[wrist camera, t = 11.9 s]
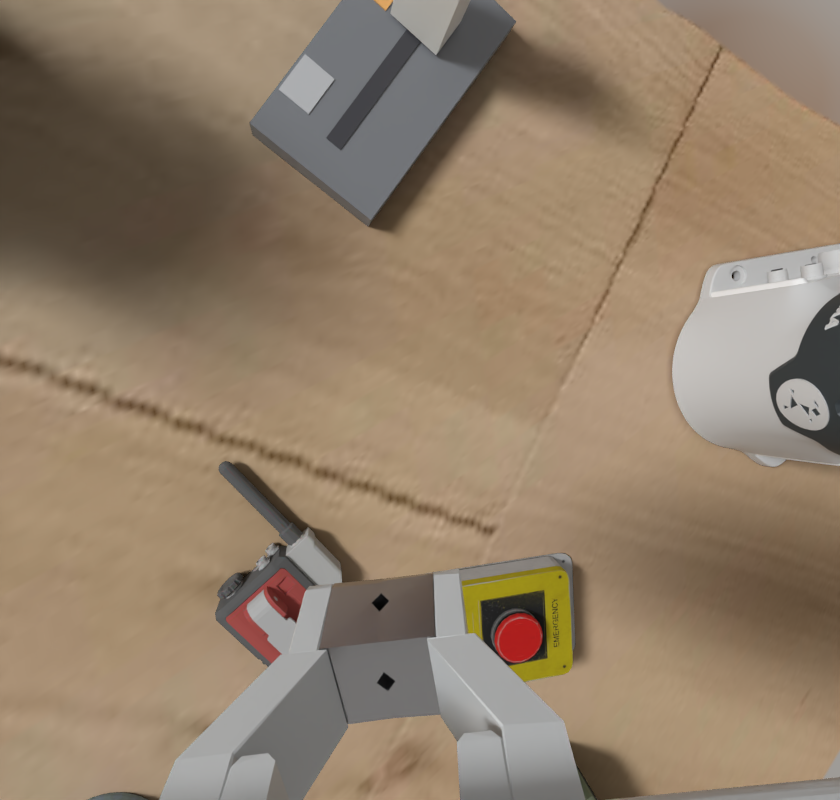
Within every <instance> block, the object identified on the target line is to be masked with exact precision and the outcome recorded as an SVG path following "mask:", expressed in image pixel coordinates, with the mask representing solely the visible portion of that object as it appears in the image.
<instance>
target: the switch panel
mask: <svg viewBox="0 0 840 800" xmlns="http://www.w3.org/2000/svg"><path fill="white" fill-rule="evenodd" d="M392 4H393V0H342V1H341V2H340V3H339V5H338V6H337V7H336V9H335V10H334V11H333V13H332V14H331V15H330V17H329V18H328V19H327V21H326V22H325V23H324V25H323V26H322V27H321V29H320V30H319V31H318V33H317V34H316V35H315V37H314V38H313V39H312V41H311V42H310V43H309V45H308V46H307V47H306V49H305V50H304V51H303V53H302V54H301V55H300V57H299V58H298V59H297V61H296V62H295V63H294V65H293V66H292V67H291V69H290V70H289V71H288V73H287V74H286V75H285V77H284V78H283V79H282V81H281V82H280V83H279V85H278V86H277V87H276V89H275V90H274V91H273V93H272V94H271V95H270V96H269V98H268V99H267V100H266V102H265V103H264V104H263V106H262V107H261V108H260V110H259V111H258V112H257V114H256V115H255V116H254V118H253V119H252V120H251V122H250V127H251V131H252V134H253V136H254V137H256V138H257V139H258V140H259V141H261V142H262V143H263V144H265V145H266V146H267V147H268V148H270V149H271V150H272V151H273V152H275V153H276V154H277V155H278V156H280V157H281V158H282V159H283V160H285V161H286V162H287V163H288V164H290V165H291V166H292V167H293V168H295V169H296V170H297V171H299V172H300V173H301V174H302V175H304V176H305V177H306V178H307V179H309V180H310V181H311V182H312V183H314V184H315V185H316V186H317V187H319V188H320V189H321V190H322V191H324V192H325V193H326V194H327V195H329V196H330V197H331V198H333V199H334V200H335V201H336V202H338V203H339V204H340V205H341V206H343V207H344V208H345V209H346V210H348V211H349V212H350V213H351V214H353V215H354V216H355V217H356V218H358V219H359V220H360V221H361V222H363V223H364V224H365V225H367V226H369V225H370V223H371V222H372V221H373V219H374V218H375V216H376V215H377V214H378V212H379V211H380V210H381V208H382V207H383V206H384V204H385V203H386V201H387V200H388V199H389V197H390V196H391V195H392V193H393V192H394V190H395V189H396V188H397V186H398V185H399V184H400V182H401V181H402V180H403V178H404V177H405V175H406V174H407V173H408V171H409V170H410V169H411V167H412V166H413V164H414V163H415V162H416V160H417V159H418V158H419V156H420V155H421V153H422V152H423V151H424V149H425V148H426V147H427V145H428V144H429V143H430V141H431V140H432V138H433V137H434V136H435V134H436V133H437V132H438V130H439V129H440V127H441V126H442V125H443V123H444V122H445V121H446V119H447V118H448V117H449V115H450V114H451V112H452V111H453V110H454V108H455V107H456V106H457V104H458V103H459V101H460V100H461V99H462V97H463V96H464V95H465V93H466V92H467V90H468V89H469V88H470V86H471V85H472V84H473V82H474V81H475V80H476V78H477V77H478V75H479V74H480V73H481V71H482V70H483V69H484V67H485V66H486V64H487V63H488V62H489V60H490V59H491V58H492V56H493V55H494V54H495V52H496V51H497V49H498V48H499V47H500V45H501V44H502V43H503V41H504V40H505V38H506V37H507V35H508V34H509V32H510V31H511V29H512V27H513V26H514V24H515V23H516V21H515V20H514V19H513V18H512V17H511V16H510V15H509V14H508V13H507V12H506V11H505V10H504V9H503V8H502V7H501V6H500V5H499V4H498V3H497V2H496V1H495V0H470V3H469V5H468V7H467V9H466V11H465V14H464V16H463V18H462V20H461V22H460V24H459V25H458V26H457V28H456V29H455V30H454V32H453V33H452V34H451V36H450V37H449V39H448V40H447V41H446V43H445V44H444V45H443V47H442V48H441V49H440V51H439V52H438V53H437V55H435V54H434V53H433V52H432V51H431V50H430V49H429V48H427V47H426V46H425V45H424V44H423V43H422V42H421V41H420V40H419V39H418V38H416V37H415V36H414V35H413V34H412V33H411V32H410V31H409V30H408V29H407V28H405V27H404V26H403V25H402V24H401V23H400V22H399V21H398V20H397V19H396V18H395V17H393V16H392V15H391V14H390V13H391V8H392Z"/></svg>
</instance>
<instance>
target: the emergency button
mask: <svg viewBox="0 0 840 800" xmlns="http://www.w3.org/2000/svg"><path fill="white" fill-rule="evenodd" d="M458 569H459V570H460V574H461V581H462V589H463V596H464V603H465V611H466V618H467V625H468V633H469V634H470V633H476V634H477V635H478V636H479V637H480V638H481V639H482V640H483V641H484V642H485V643H486V644H487V645H488V646H489V647H490V648H491V649H492V650H493V651H494V652H495V653H496V654H497V655H498V656H499V657H500V658H501V659H502V660H503V661H504V662H505V663H506V664H507V665H508V666H509V667H510V668H511V669H512V670H513V671H514V672H515V673H516V674H517V675H518V676H519V677H520V678H521V679H522V680H523V681H524V682H529V681H534V680H539V679H543V678H548V677H553V676H558V675H563V674H565V673H567V672H569V671H570V669H571V668H572V663H573V656H572V651H573V650H574V647H575V623H574V598H573V573H572V561H571V558H570V557H569V556H568V555H567V554H565V553H555V554H548V555H542V556H535V557H529V558H523V559H516V560H510V561H503V562H497V563H490V564H484V565H477V566H471V567H464V568H458ZM451 570H452V569H451ZM432 573H434V572H432ZM426 574H427V573H426Z"/></svg>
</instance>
